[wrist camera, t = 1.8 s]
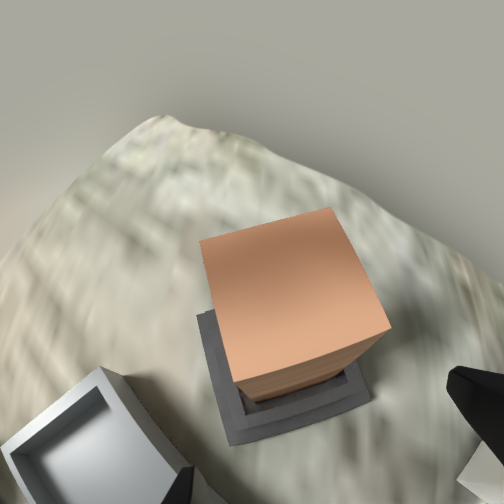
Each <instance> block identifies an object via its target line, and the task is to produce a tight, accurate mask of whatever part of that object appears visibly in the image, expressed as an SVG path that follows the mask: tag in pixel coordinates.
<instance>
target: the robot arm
mask: <svg viewBox="0 0 504 504" xmlns="http://www.w3.org/2000/svg"><path fill="white" fill-rule="evenodd" d="M446 389H447V392H448V394H449V395H450V397H451V398H452V400H453V401H454V403H455V404H456V406H457V407H458V409H459V410H460V412H461V413H462V415H463V416H464V418H465V419H466V420H467V422H468V423H469V424H470V425H471V427H472V428H473V429H474V430H475V431H476V433H477V434H478V435H479V436H480V438H481V439H482V440H483V441H484V442H485V444H486V445H487V446H488V447H489V449H490V450H491V451H492V452H493V454H494V455H495V456H496V457H497V459H498V460H499V461H500V462H501V464H502V465H503V466H504V374H499V373H494V372H489V371H483V370H478V369H473V368H468V367H464V366H456V367H455V368H453V369H452V370H450V372H449V374H448V380H447V385H446ZM161 504H210V501H209V496H208V491H207V485H206V481H205V478H204V477H203V475H202V474H201V472H200V471H199V470H198V468H197V467H196V466H195V465H189V466H183V467H182V468H181V469H180V471H179V473H178V475H177V476H176V478H175V480H174V482H173V483H172V485H171V487H170V489H169V490H168V492H167V494H166V495H165V497H164V499H163V501H162V502H161Z"/></svg>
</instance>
